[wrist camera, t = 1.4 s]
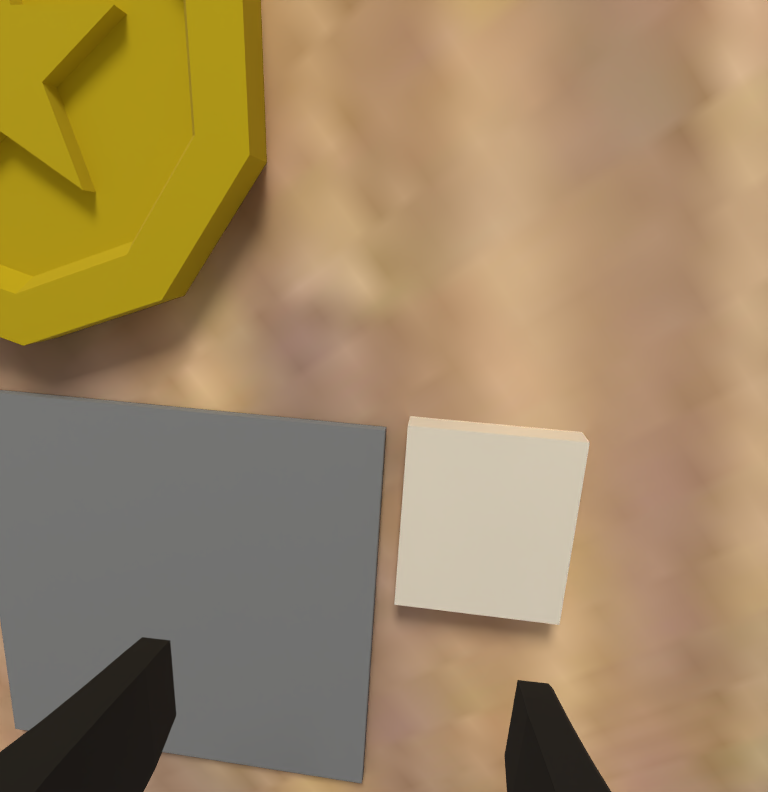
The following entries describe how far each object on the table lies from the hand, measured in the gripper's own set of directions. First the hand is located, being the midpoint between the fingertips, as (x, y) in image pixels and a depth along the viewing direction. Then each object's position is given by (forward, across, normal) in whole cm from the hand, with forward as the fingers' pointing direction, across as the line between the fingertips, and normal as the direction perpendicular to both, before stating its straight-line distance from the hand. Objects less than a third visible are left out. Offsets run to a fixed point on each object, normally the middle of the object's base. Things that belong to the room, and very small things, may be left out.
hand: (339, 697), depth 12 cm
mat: (+10, +8, +6) cm, 14 cm away
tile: (+9, -1, +1) cm, 9 cm away
